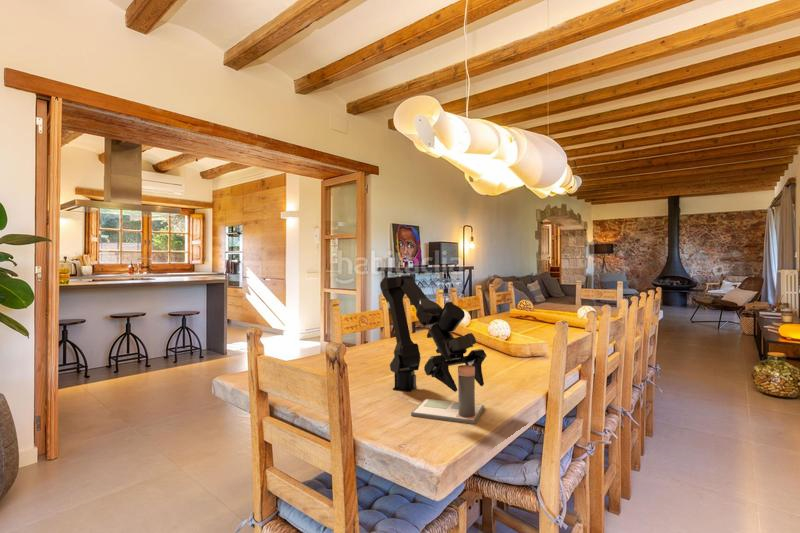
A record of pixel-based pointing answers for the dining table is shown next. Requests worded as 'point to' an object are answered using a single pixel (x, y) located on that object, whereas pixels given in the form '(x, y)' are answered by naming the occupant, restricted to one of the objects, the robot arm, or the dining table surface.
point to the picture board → (445, 411)
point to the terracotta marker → (466, 390)
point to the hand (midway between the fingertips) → (469, 388)
